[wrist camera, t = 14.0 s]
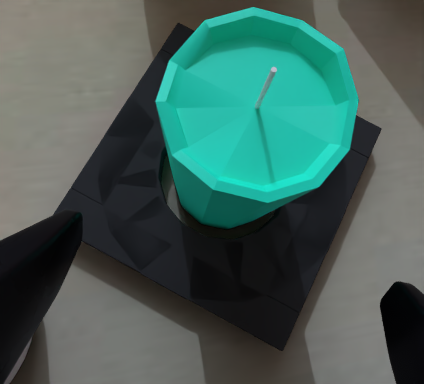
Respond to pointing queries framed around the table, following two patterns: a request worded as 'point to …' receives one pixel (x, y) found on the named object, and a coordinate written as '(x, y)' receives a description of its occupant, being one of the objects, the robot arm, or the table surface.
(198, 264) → the candle pad
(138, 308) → the table surface
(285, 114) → the candle
